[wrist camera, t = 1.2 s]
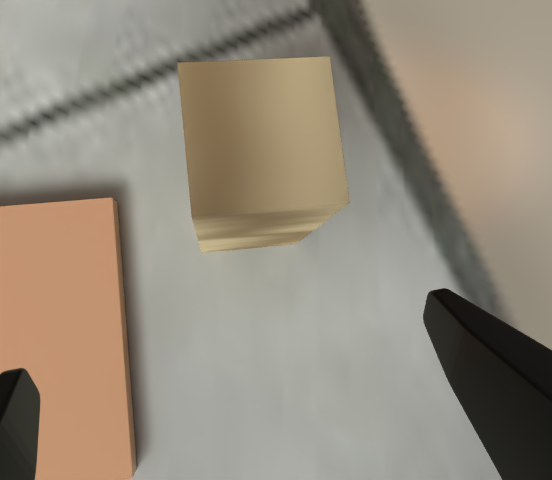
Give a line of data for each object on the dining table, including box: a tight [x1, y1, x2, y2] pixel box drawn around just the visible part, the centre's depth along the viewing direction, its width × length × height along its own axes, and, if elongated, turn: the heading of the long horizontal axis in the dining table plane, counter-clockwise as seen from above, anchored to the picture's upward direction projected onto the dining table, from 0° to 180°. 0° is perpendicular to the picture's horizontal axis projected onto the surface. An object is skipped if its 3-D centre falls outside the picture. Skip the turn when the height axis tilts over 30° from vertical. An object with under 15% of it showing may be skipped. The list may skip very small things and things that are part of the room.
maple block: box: [177, 56, 350, 253], centre depth 20 cm, size 5×5×10 cm
